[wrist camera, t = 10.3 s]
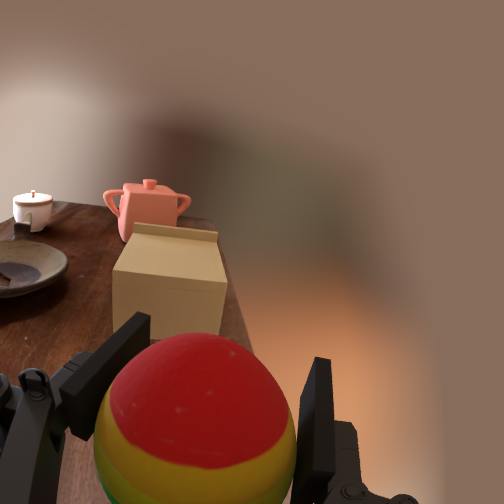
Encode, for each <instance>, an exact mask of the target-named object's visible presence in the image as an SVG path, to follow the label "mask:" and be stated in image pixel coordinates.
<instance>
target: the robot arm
mask: <svg viewBox="0 0 504 504" xmlns="http://www.w3.org/2000/svg"><path fill="white" fill-rule="evenodd" d="M150 325H151V315H149V314H145V313H142V312H139V311H137V312H136V313H135V314H134V315H133V316H132V317H131V318H130V319H129V320H127V321H126V322H125V323H124V324H123V325H122V326H121V327H120V328H119V329H118V330H117V331H116V332H115V333H114V334H113V335H112V336H111V337H110V338H109V339H108V340H107V341H106V342H105V343H103V344H102V345H101V346H100V347H99V348H98V349H97V350H96V351H95V352H94V353H90V352H88V351H86V350H84V351H82V352H80V353H77V354H75V355H74V356H73V357H72V358H71V359H70V360H69V361H68V362H67V363H66V364H64V365H63V367H61V368H60V369H59V370H58V371H57V372H56V373H55V374H54V375H53V376H52V377H51V378H48V376H47V374H46V373H45V372H44V371H43V370H40V369H37V368H30V369H26V370H24V371H23V372H21V373H20V374H19V376H18V378H19V381H20V384H21V387H22V388H20V387H16V386H13V385H10V382H9V380H8V378H7V377H6V376H5V375H4V374H1V373H0V504H56V500H57V491H58V483H59V475H60V468H61V462H62V455H63V450H64V444H65V432H64V431H65V430H66V429H67V427H68V426H69V427H70V430H71V433H72V434H73V435H75V436H76V437H78V438H80V439H82V440H84V441H86V442H87V441H88V439H89V438H90V437H91V435H92V434H93V433H94V430H95V424H96V419H97V415H98V411H99V408H100V406H101V403H102V400H103V398H104V396H105V394H106V392H107V390H108V389H109V387H110V385H111V384H112V382H113V381H114V379H115V378H116V376H117V375H118V373H119V372H120V371H121V370H122V369H123V368H124V367H125V366H126V365H127V364H128V363H129V362H130V361H131V360H132V359H133V358H134V357H135V356H136V355H138V354H139V353H140V352H142V351H143V350H144V349H146V348H148V347H149V346H150ZM357 442H358V438H357V431H356V429H355V428H354V426H353V425H352V423H351V422H344V421H337V420H334V403H333V387H332V372H331V360H330V359H324V358H320V357H315V359H314V362H313V364H312V367H311V370H310V373H309V376H308V378H307V381H306V384H305V386H304V389H303V392H302V394H301V397H300V408H299V421H298V434H297V455H296V466H295V471H294V475H293V484H292V492H291V501H290V504H313V503H314V504H419V503H418V502H417V500H416V499H415V498H413V497H412V496H410V495H406V494H399V495H396V496H394V497H393V498H392V499H388V498H385V497H381V496H378V495H375V494H373V493H371V492H370V491H368V488H367V487H366V486H365V484H364V483H362V479H361V470H360V458H359V451H358V450H359V448H358V443H357Z"/></svg>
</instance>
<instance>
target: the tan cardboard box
mask: <svg viewBox="0 0 504 504" xmlns="http://www.w3.org/2000/svg"><path fill="white" fill-rule="evenodd" d="M217 238H218V232H213V231H205V230H197V229H189V228H181V227H173V226H164V225H156V224H147V223H139V222H135V223H134V228H133V234H132V236H131V237H130V239H129V241H128V243H127V245H126V246H125V248H124V250H123V252H122V254H121V255H120V257H119V259H118V261H117V263H116V265H115V267H114V269H113V334H114V333H115V332H116V331H117V330H118V329H119V328H120V327H121V326H122V325H123V324H124V323H125V322H126V321H127V320H129V319H130V318H131V317H132V316H133V315H134V314H135V313H136V312H137V311H139V312H142V313H145V314H149V315H151V325H150V339H154V340H163V339H165V338H168V337H171V336H174V335H178V334H183V333H191V332H201V333H210V334H215V335H219V331H220V325H221V319H222V313H223V307H224V301H225V295H226V289H227V284H228V282H227V278H226V275H225V271H224V268H223V264H222V261H221V257H220V253H219V250H218V246H217Z"/></svg>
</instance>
